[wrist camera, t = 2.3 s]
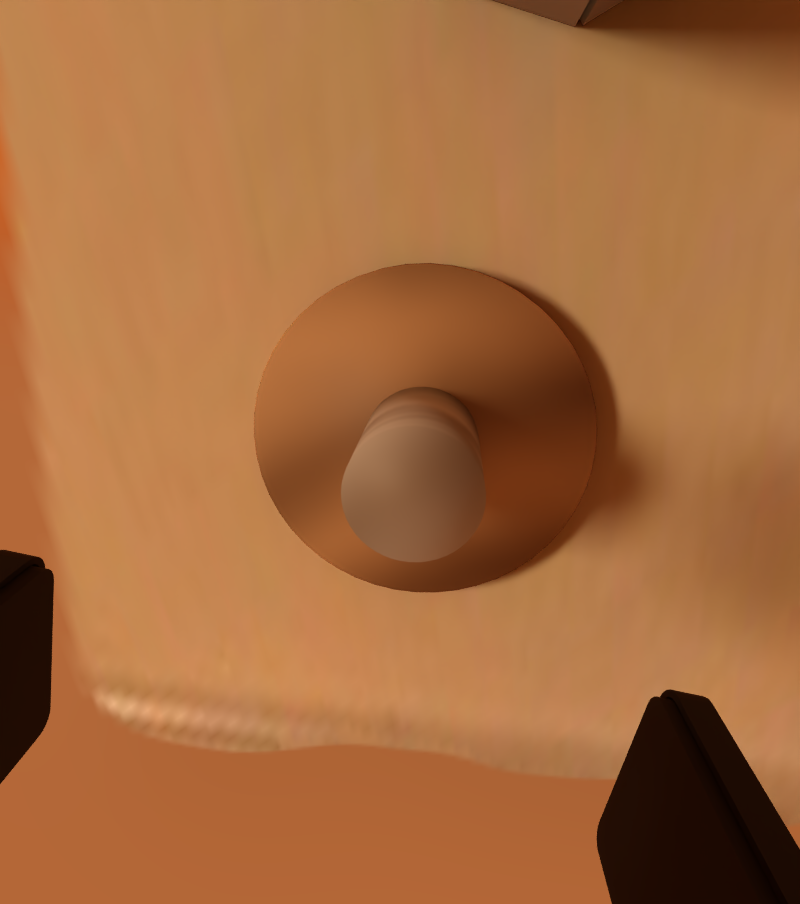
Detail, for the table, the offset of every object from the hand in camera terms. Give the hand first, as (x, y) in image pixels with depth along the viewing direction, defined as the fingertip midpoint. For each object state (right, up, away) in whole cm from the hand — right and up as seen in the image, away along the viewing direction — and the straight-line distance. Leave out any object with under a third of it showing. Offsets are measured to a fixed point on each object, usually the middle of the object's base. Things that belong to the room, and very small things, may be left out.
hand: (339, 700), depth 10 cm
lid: (+2, +5, +13) cm, 14 cm away
